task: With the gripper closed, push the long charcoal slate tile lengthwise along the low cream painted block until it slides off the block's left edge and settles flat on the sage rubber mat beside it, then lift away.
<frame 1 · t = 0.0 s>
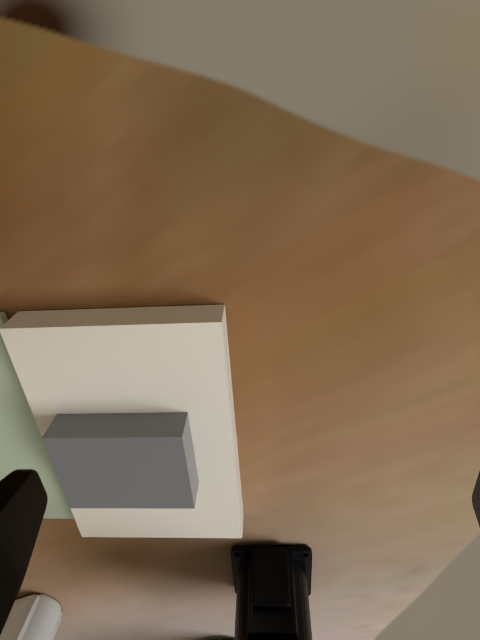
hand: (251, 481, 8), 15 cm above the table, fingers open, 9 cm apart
slate tile: (131, 449, 26), point 2 cm above the table, touching cream block
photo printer: (20, 608, 41), on the table
cream block: (146, 426, 28), on the table
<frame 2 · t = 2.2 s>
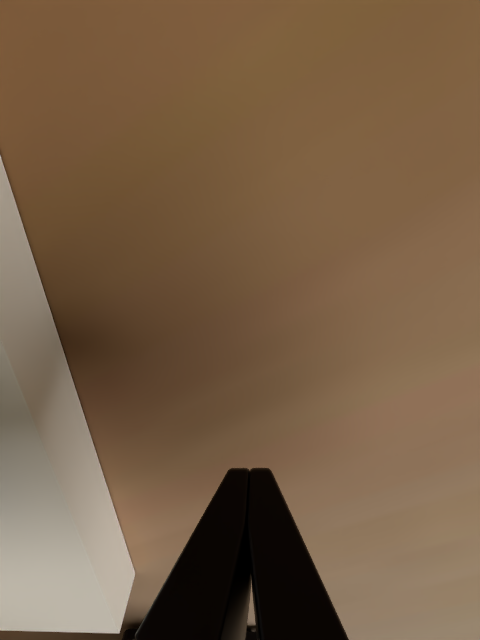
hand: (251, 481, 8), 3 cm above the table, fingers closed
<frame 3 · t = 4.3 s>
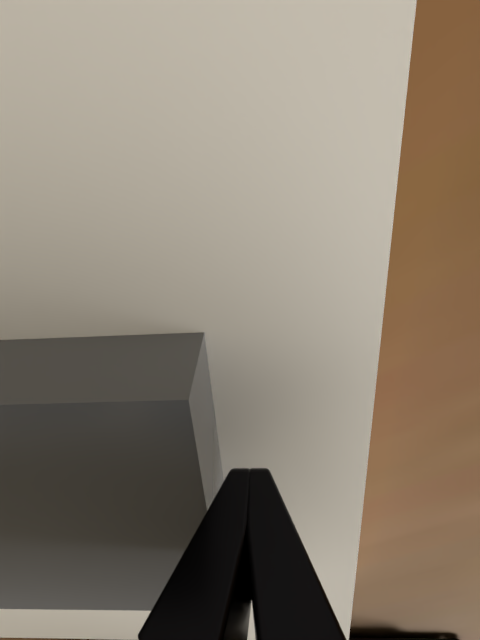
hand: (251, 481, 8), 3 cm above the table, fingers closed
slate tile: (50, 448, 10), point 2 cm above the table, touching cream block, gripper
cream block: (131, 392, 11), on the table
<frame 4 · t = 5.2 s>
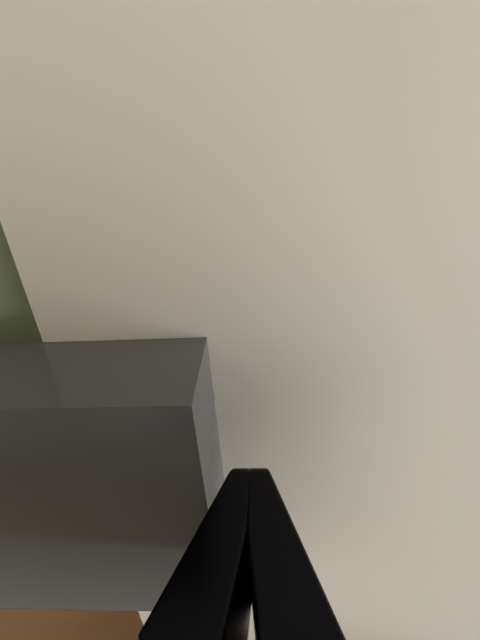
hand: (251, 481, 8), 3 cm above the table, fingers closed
slate tile: (53, 449, 10), point 2 cm above the table, touching cream block, gripper
cream block: (326, 387, 11), on the table
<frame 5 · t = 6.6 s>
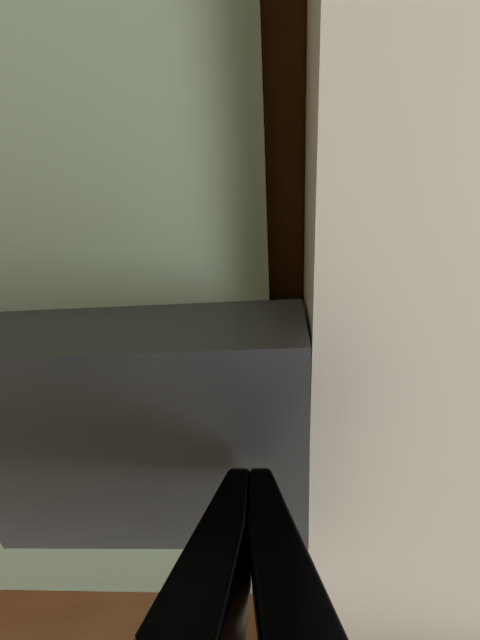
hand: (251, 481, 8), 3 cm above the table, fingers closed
slate tile: (149, 407, 11), resting on sage mat
sage mat: (70, 392, 11), on the table
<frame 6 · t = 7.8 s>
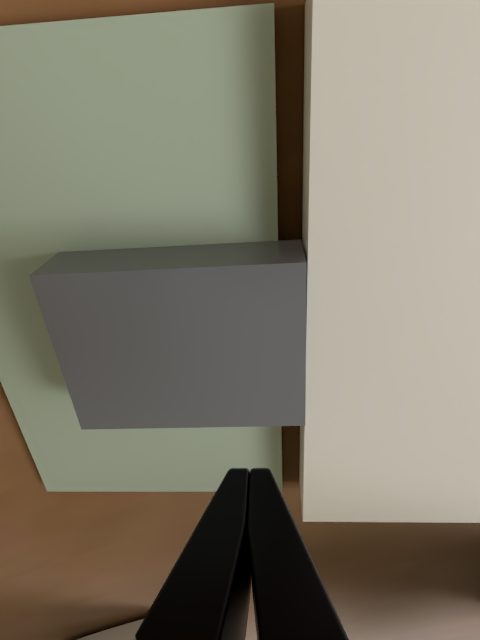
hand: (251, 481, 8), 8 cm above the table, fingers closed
slate tile: (188, 325, 15), resting on sage mat
sage mat: (128, 317, 15), on the table
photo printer: (131, 633, 28), on the table
cream block: (473, 307, 15), on the table
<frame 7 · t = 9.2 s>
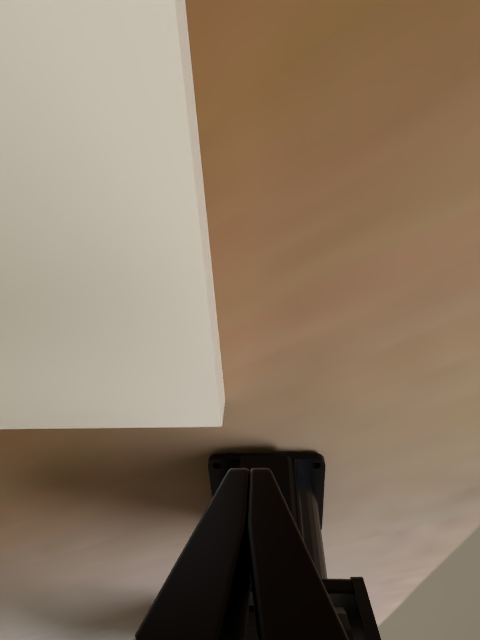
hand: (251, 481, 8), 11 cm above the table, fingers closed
cream block: (69, 237, 18), on the table
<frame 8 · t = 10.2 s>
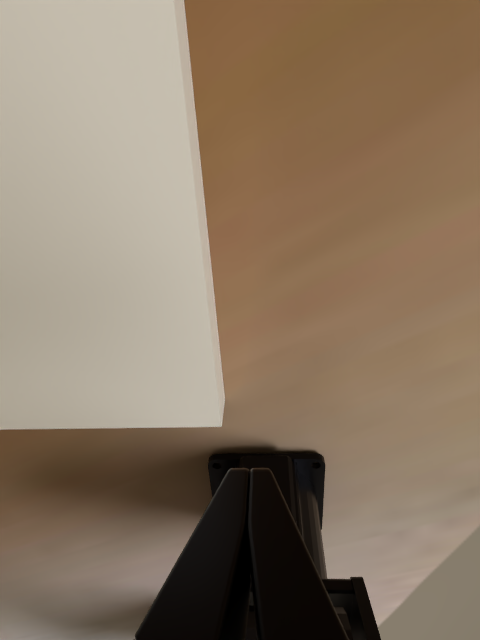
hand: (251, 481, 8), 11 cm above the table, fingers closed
cream block: (68, 237, 18), on the table
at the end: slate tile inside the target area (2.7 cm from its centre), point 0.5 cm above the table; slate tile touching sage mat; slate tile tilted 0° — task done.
